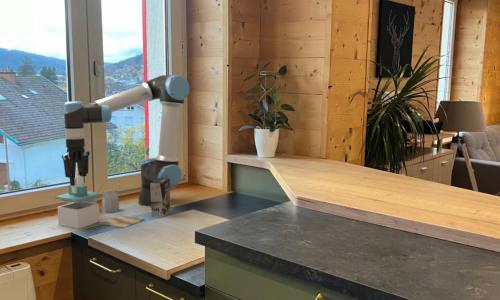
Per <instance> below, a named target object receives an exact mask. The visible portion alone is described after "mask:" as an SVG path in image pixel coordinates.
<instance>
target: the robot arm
mask: <svg viewBox="0 0 500 300" xmlns="http://www.w3.org/2000/svg"><path fill="white" fill-rule="evenodd" d="M189 93H190V85H189V82H188V81H187V79H186V78H185V77H183V76H181V75H177V74H167V75H166V74H165V75H158V76H157V77H154V78H151V79H149V80H147V81H144V82H142V83H141V85H138V86H136V87H133V88H130V89H127V90H124V91H121V92H118V93H115V94H112V95H110V96H109V95H108V96H106V97H104V98H101V99H97V100H94V101H91V102H89V103H83V102H82V101H65V103H64V104H63V116H64V131H65V148H66V153H65V154H61V158H62V160H63V161H62V162H63V166H64V167H63V168H64V176H65V178H67V179H68V178H69V185H71V188H72V193H78V192H77V185H83V186H85V183H86V181H85V180H86V179H85V177H87V175H88V174H89V157H90V151H88V150H85V145H86V144H85V141H86V140H85V138H84V137H85V125H84V124H96V123H97V124H101V123H102V124H103V123H109V122H111V119H112V117H113V116H112V115H113V113H114V112H117V111H121V110H123V109H126V108H129V107H131V106H134V105H137V104H139V103H142V102H143V103H144V102H145V101H147V102H151V101H155V100H159V103H160V105H161V106H162V108H161V119H160V130H159V132H160V133H159V141H158V142H159V143H158V154H157V156H156V157H148V158H142V159H141V161H140V166H139V167H140V180H141V182H140V184H141V188H140V192H139V195H138V199H137V200H138V201H137V202H138V204H139V205H142V206H147V207H151V190H150V183H151V182H152V181H154V180H155V179H157V178H169V179H170V189H171V188H174V187H176V186H177V185H179V184H180V182H181V180H182V176H183V172H182V169H181V168H180V166H179V163H180V161H179V159H178V157H177V152H178V150H177V149H178V139H179V127H180V118H181V117H180V116H181V108H182V107H183V106H184V104H185V99H186V98H187V97H188V96H189ZM76 168H77V171H78V176H77V177H76Z"/></svg>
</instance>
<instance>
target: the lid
mask: <svg viewBox="0 0 500 300" xmlns="http://www.w3.org/2000/svg"><path fill="white" fill-rule="evenodd" d="M77 192H78V193H72V188H71V185H70V184H69V185H68V192H67V193H63V194H60V195H56V196H55V199H56V200H61V201H64V202H67V201H68V202H74V203H80V202H83V201H87V200H90V199H94V198H95V197H101V194H102V193H101V192H95V191H88V186H87V185H84V186H83V185H78V184H77Z"/></svg>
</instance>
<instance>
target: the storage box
mask: <svg viewBox="0 0 500 300" xmlns="http://www.w3.org/2000/svg"><path fill="white" fill-rule="evenodd" d="M100 219H101V218H100V204H99V203H98V202H97V203H91V202H84V201H83V202H80V203H74V202H73V203H69V204H67V203H66V204H63V205H59V206H57V222H58V226H63V227H67V228H73V229H77V230H78V229H82V228H85V227H87V226H90V225H94V224H96V223H97V224H98V223H99V222H101V220H100Z"/></svg>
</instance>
